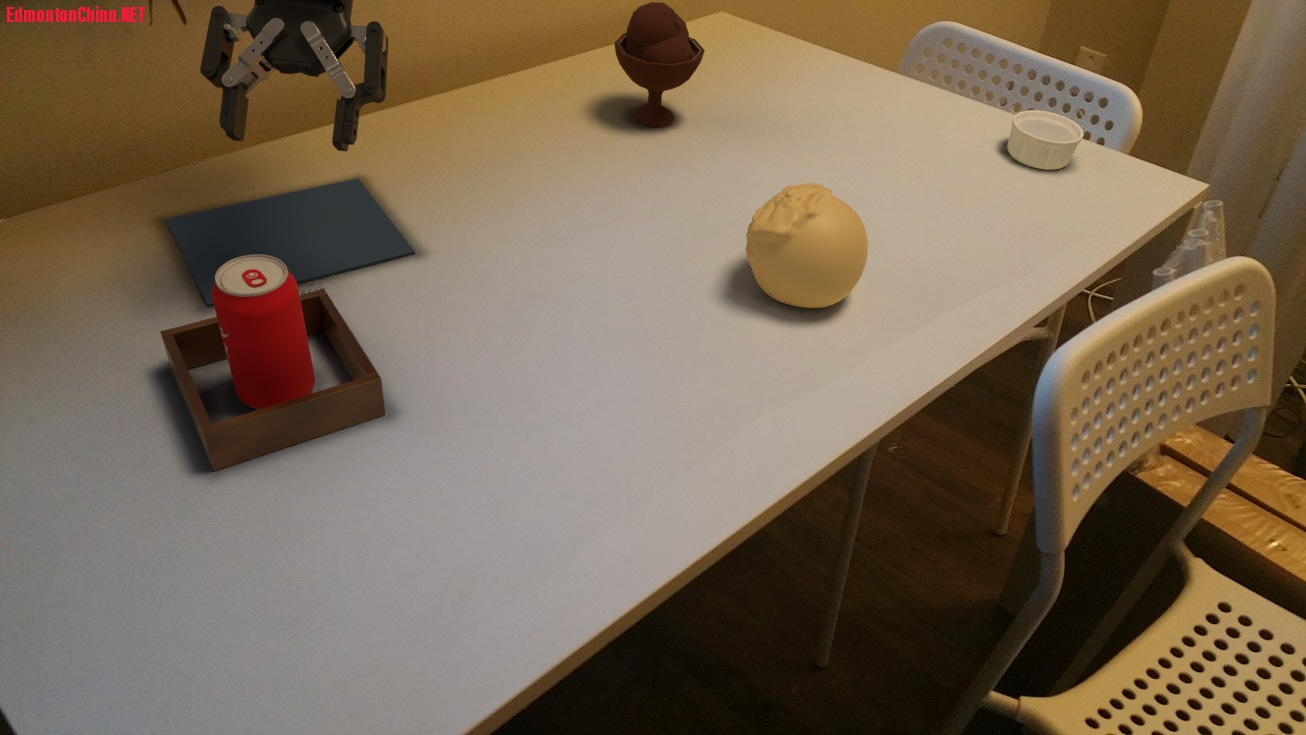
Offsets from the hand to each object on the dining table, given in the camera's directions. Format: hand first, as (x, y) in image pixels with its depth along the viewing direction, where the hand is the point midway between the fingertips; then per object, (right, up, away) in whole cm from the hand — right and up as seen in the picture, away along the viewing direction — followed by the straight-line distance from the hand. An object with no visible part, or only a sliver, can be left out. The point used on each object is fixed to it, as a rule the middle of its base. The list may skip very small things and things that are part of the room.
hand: (287, 143), depth 80 cm
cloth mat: (-7, -5, +20) cm, 21 cm away
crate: (-2, -20, +3) cm, 20 cm away
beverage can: (-2, -20, +3) cm, 21 cm away
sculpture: (+44, -10, +21) cm, 50 cm away
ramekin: (+80, +9, +49) cm, 94 cm away
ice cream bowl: (+30, +14, +47) cm, 57 cm away
